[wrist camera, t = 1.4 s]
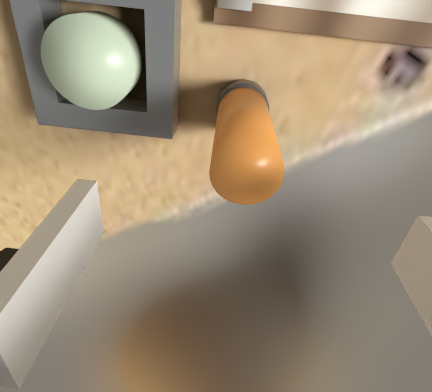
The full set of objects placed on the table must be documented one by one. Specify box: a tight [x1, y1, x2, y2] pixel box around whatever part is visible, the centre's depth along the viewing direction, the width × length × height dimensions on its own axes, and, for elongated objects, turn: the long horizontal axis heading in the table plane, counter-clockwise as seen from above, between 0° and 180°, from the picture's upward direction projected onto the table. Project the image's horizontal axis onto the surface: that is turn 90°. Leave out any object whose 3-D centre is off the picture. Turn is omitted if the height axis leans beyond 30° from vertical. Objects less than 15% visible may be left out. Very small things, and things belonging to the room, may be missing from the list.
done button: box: [41, 11, 142, 110], centre depth 22 cm, size 6×6×3 cm
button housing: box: [9, 0, 181, 139], centre depth 24 cm, size 11×11×3 cm
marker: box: [210, 80, 284, 205], centre depth 22 cm, size 4×4×12 cm
